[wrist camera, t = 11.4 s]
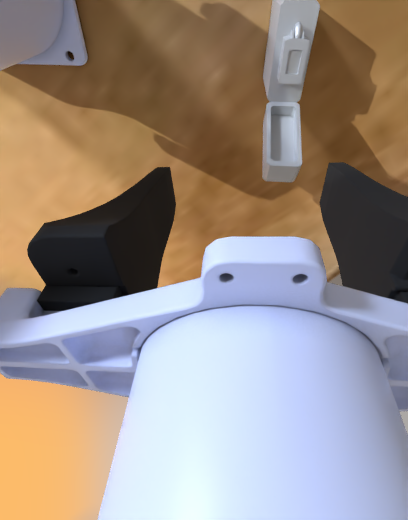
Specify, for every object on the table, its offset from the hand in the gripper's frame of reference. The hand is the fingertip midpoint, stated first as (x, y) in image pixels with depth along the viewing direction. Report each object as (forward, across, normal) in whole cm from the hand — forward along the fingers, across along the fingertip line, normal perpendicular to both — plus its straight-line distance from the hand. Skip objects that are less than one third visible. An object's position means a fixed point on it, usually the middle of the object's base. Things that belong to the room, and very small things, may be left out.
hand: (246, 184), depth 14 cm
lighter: (+10, -2, -3) cm, 10 cm away
